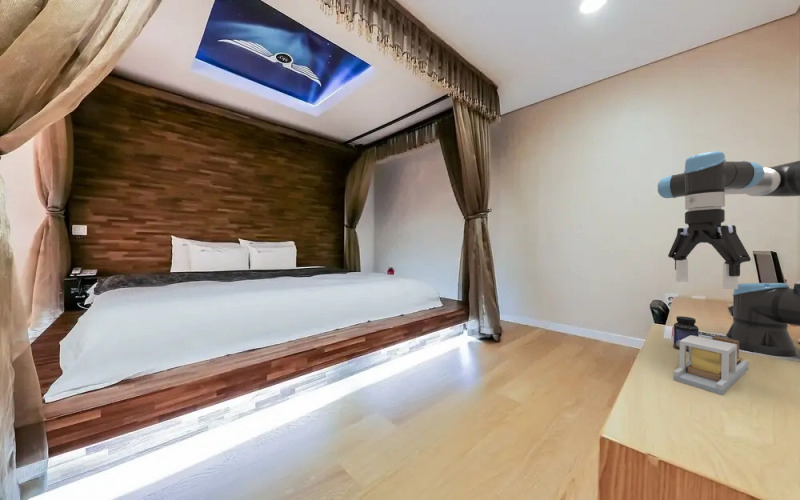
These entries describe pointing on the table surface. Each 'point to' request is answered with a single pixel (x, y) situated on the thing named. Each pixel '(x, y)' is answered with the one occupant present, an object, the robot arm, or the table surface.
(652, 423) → the table surface
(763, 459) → the table surface
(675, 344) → the pill bottle
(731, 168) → the robot arm
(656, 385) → the table surface
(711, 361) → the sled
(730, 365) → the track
